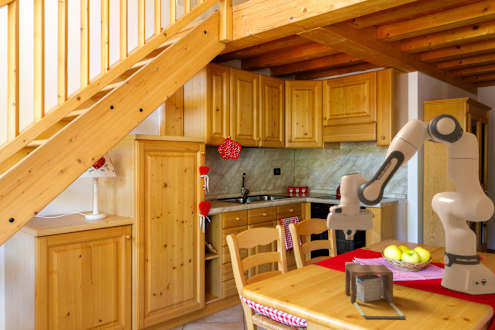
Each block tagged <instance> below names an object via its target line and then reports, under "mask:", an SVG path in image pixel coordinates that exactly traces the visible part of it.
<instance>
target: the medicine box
mask: <svg viewBox="0 0 495 330" xmlns="http://www.w3.org/2000/svg"><path fill="white" fill-rule="evenodd" d="M381 299H382V296H381V277H380V275H360V276H357V292H356V300H359V301H360V302H362V303H368V302H374V301H379V300H381Z"/></svg>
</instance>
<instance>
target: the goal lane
mask: <svg viewBox="0 0 495 330" xmlns="http://www.w3.org/2000/svg"><path fill="white" fill-rule="evenodd" d="M353 305H354V307H355V309H356V310H357V311H358V313H359V314H360V316H361V317H362V318H364V316H366V314H365V313H364V311H363V310H362V308H361V307H360V305H359V304H358V303H357V302H356V303H353ZM389 306H390V307H392V309H393V310H394V311H395V312H396V313H397V314H398V316H404V318H406V317H405V314H404V313H403V312H402V311H401V310H400V309H399V308H398V307H397V305H395V304H394V302H393V303H390V304H389Z"/></svg>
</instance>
